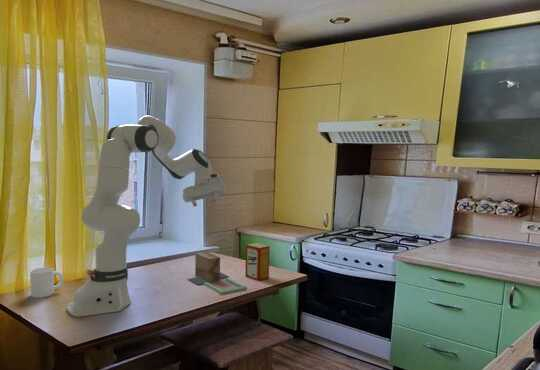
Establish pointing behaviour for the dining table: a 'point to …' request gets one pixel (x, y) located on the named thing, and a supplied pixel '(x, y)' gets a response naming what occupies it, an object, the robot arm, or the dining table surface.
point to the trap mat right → (223, 276)
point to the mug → (43, 282)
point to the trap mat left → (197, 281)
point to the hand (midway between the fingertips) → (204, 203)
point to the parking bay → (240, 287)
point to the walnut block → (207, 266)
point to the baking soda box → (257, 261)
